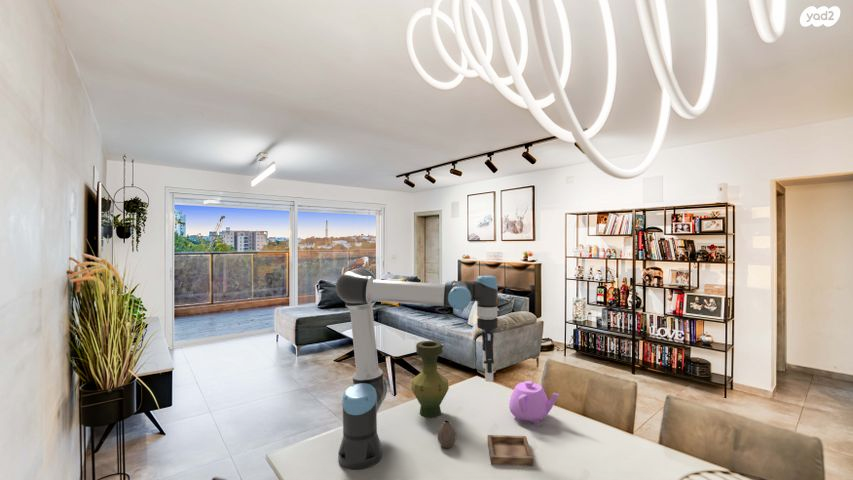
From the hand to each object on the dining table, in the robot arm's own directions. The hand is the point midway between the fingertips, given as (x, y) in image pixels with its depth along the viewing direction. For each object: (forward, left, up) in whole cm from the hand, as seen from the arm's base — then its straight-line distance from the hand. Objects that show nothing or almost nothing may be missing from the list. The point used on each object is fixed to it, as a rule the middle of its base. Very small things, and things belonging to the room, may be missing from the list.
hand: (487, 374), depth 140 cm
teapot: (+20, +17, -25) cm, 36 cm away
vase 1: (-23, +21, -25) cm, 41 cm away
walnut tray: (+7, -8, -25) cm, 27 cm away
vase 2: (-15, -4, -25) cm, 30 cm away
